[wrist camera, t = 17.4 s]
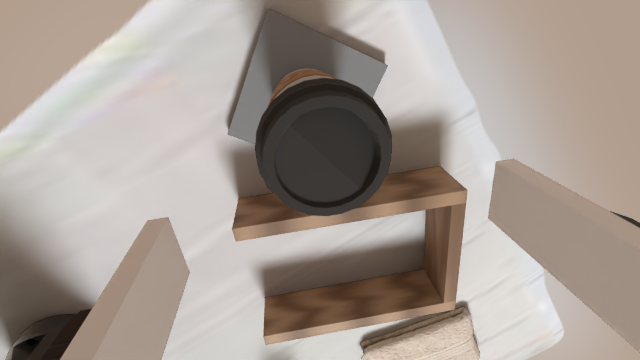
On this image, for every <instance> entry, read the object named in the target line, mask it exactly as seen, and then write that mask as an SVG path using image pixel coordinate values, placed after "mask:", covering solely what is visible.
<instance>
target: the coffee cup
mask: <svg viewBox="0 0 640 360" xmlns="http://www.w3.org/2000/svg"><path fill="white" fill-rule="evenodd" d="M255 151H256V158H257V162H258V166H259V171H260V174H261V176H262V177H263V179H264V181H265V183H266V185H267V186H268V188H269V189H270V190H271V191H272V192H273V193H274V194H275V195H276V196H277V197H278V198H279V199H280V200H281V201H282V202H283V203H284V204H286V205H288V206H289V207H291V208H293V209H295V210H296V211H299V212H302V213H305V214H309V215H313V216H331V215H337V214H343V213H345V212H348V211H350V210H352V209H355V208H357V207H359V206H360V205H361V204H363V203H364V202H366V201H367V200H369V199H370V198H371V197H372V196H373V194H374V193H375V192H376V191H377V190H378V189H379V188H380V186H381V185H382V183H383V181H384V179H385V177H386V175H387V173H388V169H389V165H390V161H391V153H392V135H391V132H390V129H389V125H388V122H387V119H386V117H385V116H384V114H383V112H382V111H381V110H380V108H379V107H378V105H377V104H376V102H375V101H374V99H373V98H372V97H371V96H370V95H368V94H367V93H366V92H365V91H363V90H362V89H361V88H360V87H358V86H356V85H353V84H351V83H348V82H346V81H344V80H339V79H337V78H335V77H333V76H331V75H329V74H326V73H324V72H322V71H318V70H316V69H309V68H304V69H297V70H295V71H293V72H291V73H289V74H288V75H286V76H285V77H284V78H283V79H282V80H281V81H280V83H279V84H278V86H277V87H276V89H275V90H274V92H273V95H272V97H271V99H270V102H269V104H268V107H267V109H266V110H265V112H264V113H263V115H262V117H261V120H260V123H259V125H258V128H257V131H256V142H255Z"/></svg>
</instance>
